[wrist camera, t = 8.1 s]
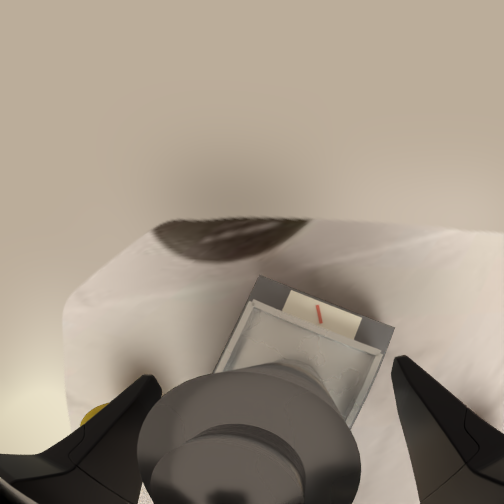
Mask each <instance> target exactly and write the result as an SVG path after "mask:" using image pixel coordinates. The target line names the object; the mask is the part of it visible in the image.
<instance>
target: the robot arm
mask: <svg viewBox="0 0 504 504" xmlns="http://www.w3.org/2000/svg"><path fill="white" fill-rule="evenodd" d="M391 378H392V383H393V388H394V394H395V399H396V405H397V410H398V415H399V418H400V422H401V425H402V429H403V432H404V436H405V440H406V443H407V447H408V451H409V455H410V459H411V463H412V467H413V472H414V476H415V480H416V485H417V490H418V495H419V500H420V502H421V503H420V504H504V434H503V433H502V432H500V431H499V430H497V429H496V428H494V427H493V426H491V425H490V424H488V423H487V422H485V421H484V420H483V419H481V418H480V417H479V416H478V415H477V414H475V413H474V412H473V411H472V410H471V409H469V408H468V407H467V406H466V405H465V404H463V403H462V402H461V401H460V400H459V399H458V398H456V397H455V396H454V395H453V394H452V393H451V392H449V391H448V390H447V389H446V388H445V387H443V386H442V385H441V384H440V383H439V382H438V381H436V380H435V379H434V378H433V377H432V376H430V375H429V374H428V373H427V372H426V371H424V370H423V369H422V368H421V367H420V366H418V365H417V364H416V363H415V362H414V361H412V360H411V359H410V358H409V357H408V356H406V355H402V356H397V357H395V358H394V362H393V367H392V371H391ZM161 395H162V389H161V387H160V385H159V383H158V382H157V380H156V378H155V377H154V376H153V375H148V374H144V375H142V376H141V377H140V378H139V379H137V380H136V381H135V382H134V383H133V384H131V385H130V386H129V387H128V388H127V389H125V390H124V391H123V392H122V393H121V394H119V395H118V396H117V397H116V398H115V399H113V400H112V401H111V402H110V403H109V404H107V405H106V406H105V407H104V408H103V409H101V410H100V411H99V412H98V413H96V414H95V415H94V416H93V417H92V418H90V419H89V420H88V421H87V422H85V424H83V425H82V426H80V427H79V428H78V429H77V430H75V431H74V432H73V433H71V434H70V435H69V436H67V437H66V438H64V439H63V440H61V441H60V442H58V443H57V444H55V445H54V446H52V447H50V448H49V449H47V450H45V451H44V452H42V453H39V454H35V455H13V454H0V477H1V478H0V504H138V499H139V495H140V491H141V486H142V482H143V481H142V478H141V475H140V471H139V467H138V459H137V444H138V438H139V433H140V430H141V427H142V424H143V422H144V420H145V418H146V416H147V415H148V413H149V412H150V410H151V409H152V407H153V406H154V405H155V404H156V403H157V402H158V401H159V400H160V399H161Z"/></svg>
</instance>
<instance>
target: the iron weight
mask: <svg viewBox="0 0 504 504" xmlns="http://www.w3.org/2000/svg"><path fill="white" fill-rule="evenodd" d="M137 459H138V467H139V471H140V475H141V478H142V481H143V483H144V485H145V488H146V490H147V492H148V493H149V495H150V497H151V499H152V500H153V503H154V504H352V502H353V500H354V498H355V495H356V493H357V490H358V486H359V482H360V475H361V462H360V454H359V451H358V447H357V444H356V441H355V439H354V437H353V435H352V433H351V431H350V429H349V427H348V425H347V424H346V422H345V420H344V418H343V417H342V415H341V413H340V411H339V410H338V408H337V406H336V404H335V403H334V401H333V399H332V397H331V396H330V394H329V392H328V391H327V389H326V387H325V385H324V384H323V382H322V380H321V378H320V377H319V375H318V373H317V372H316V371H315V370H314V369H313V368H312V367H311V366H310V365H308V364H306V363H304V362H302V361H299V360H295V359H283V360H278V361H273V362H269V363H265V364H260V365H255V366H250V367H245V368H240V369H235V370H230V371H224V372H218V373H213V374H208V375H204V376H200V377H197V378H194V379H192V380H189V381H186V382H184V383H182V384H180V385H179V386H177V387H175V388H173V389H172V390H171V391H169V392H168V393H166V394H165V395H164V396H163V397H162V398H161V399H160V400H159V401H158V402H157V403H156V404H155V405H154V406H153V407H152V409H151V410H150V412H149V413H148V415H147V416H146V418H145V420H144V422H143V424H142V427H141V430H140V433H139V438H138V444H137Z"/></svg>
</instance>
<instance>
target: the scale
mask: <svg viewBox="0 0 504 504" xmlns="http://www.w3.org/2000/svg"><path fill="white" fill-rule="evenodd" d="M394 329H395V328H394V327H392V326H389V325H387V324H384V323H381V322H379V321H376V320H373V319H371V318H368V317H365V316H363V315H360V314H358V313H355V312H352V311H350V310H347V309H345V308H342V307H340V306H337V305H334V304H332V303H329V302H327V301H324V300H322V299H319V298H317V297H314V296H312V295H309V294H306V293H304V292H301V291H299V290H296V289H294V288H291V287H289V286H286V285H284V284H281V283H279V282H276V281H274V280H271V279H269V278H266V277H264V276H262V275H259V277H258V279H257V281H256V283H255V285H254V287H253V290H252V292H251V294H250V296H249V298H248V300H247V302H246V304H245V307H244V309H243V311H242V313H241V315H240V317H239V319H238V321H237V323H236V325H235V327H234V330H233V332H232V334H231V336H230V338H229V340H228V342H227V344H226V346H225V348H224V350H223V352H222V354H221V357H220V359H219V361H218V363H217V365H216V367H215V369H214V371H213V373H218V372H224V371H230V370H235V369H240V368H245V367H250V366H255V365H260V364H265V363H269V362H273V361H278V360H283V359H295V360H299V361H302V362H304V363H306V364H308V365H310V366H311V367H312V368H313V369H314V370H315V371H316V372H317V373H318V375H319V377H320V378H321V380H322V382H323V384H324V385H325V387H326V389H327V391H328V392H329V394H330V396H331V397H332V399H333V401H334V403H335V404H336V406H337V408H338V410H339V411H340V413H341V415H342V417H343V418H344V420H345V422H346V424H347V425H348V427H349V429H351V427H352V425H353V424H354V422H355V420H356V418H357V416H358V414H359V412H360V410H361V408H362V406H363V404H364V402H365V400H366V397H367V395H368V393H369V391H370V389H371V387H372V384H373V382H374V380H375V378H376V375H377V373H378V371H379V368H380V366H381V363H382V361H383V358H384V356H385V353H386V351H387V348H388V345H389V343H390V340H391V337H392V334H393V332H394ZM213 373H212V374H213Z"/></svg>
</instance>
